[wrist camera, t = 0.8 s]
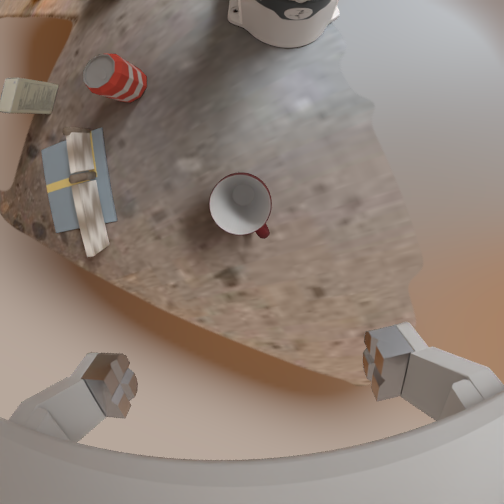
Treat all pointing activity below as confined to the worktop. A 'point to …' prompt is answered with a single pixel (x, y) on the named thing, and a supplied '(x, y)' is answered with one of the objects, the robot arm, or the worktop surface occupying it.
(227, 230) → the mug
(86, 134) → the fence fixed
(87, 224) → the fence panel
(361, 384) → the worktop surface
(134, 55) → the worktop surface
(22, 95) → the skincare box
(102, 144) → the card
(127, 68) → the beverage can
